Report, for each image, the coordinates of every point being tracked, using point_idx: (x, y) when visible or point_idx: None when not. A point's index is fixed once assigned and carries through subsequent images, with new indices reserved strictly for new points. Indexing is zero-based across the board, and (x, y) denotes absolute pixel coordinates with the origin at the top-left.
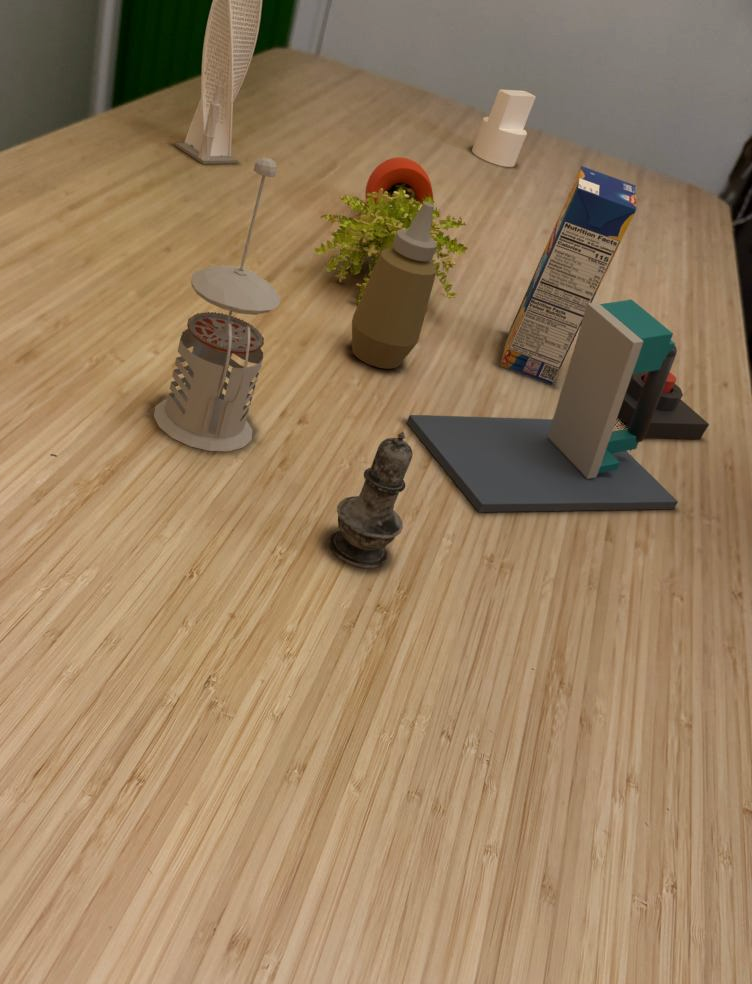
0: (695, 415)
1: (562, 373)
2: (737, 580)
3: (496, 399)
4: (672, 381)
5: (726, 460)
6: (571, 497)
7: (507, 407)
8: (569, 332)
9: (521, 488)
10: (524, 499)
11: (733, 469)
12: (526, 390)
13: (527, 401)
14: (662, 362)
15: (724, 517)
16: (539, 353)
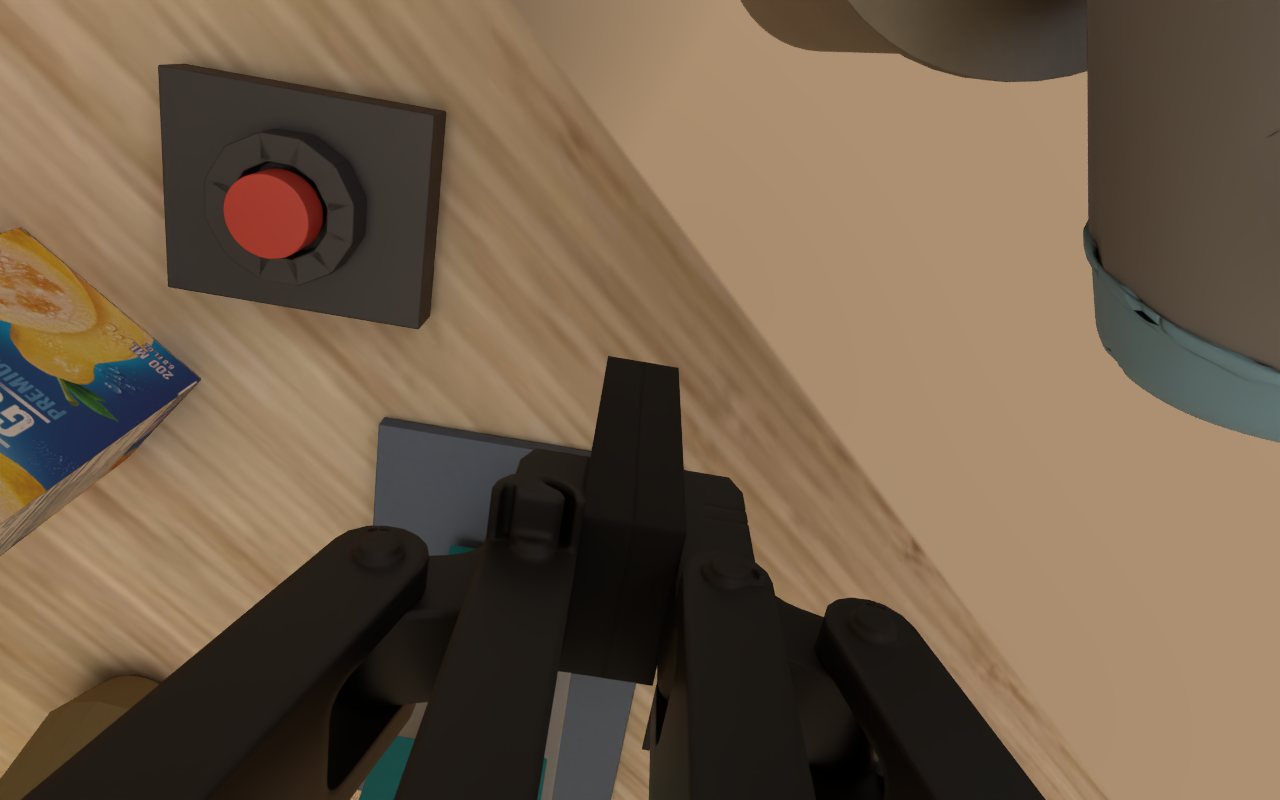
0: (389, 123)
1: (135, 296)
2: (888, 516)
3: (276, 564)
4: (307, 220)
5: (544, 115)
6: (620, 682)
7: (306, 561)
8: (115, 444)
9: (580, 747)
10: (608, 760)
11: (583, 134)
12: (232, 465)
13: (279, 497)
14: (544, 775)
15: (733, 361)
16: (133, 440)
